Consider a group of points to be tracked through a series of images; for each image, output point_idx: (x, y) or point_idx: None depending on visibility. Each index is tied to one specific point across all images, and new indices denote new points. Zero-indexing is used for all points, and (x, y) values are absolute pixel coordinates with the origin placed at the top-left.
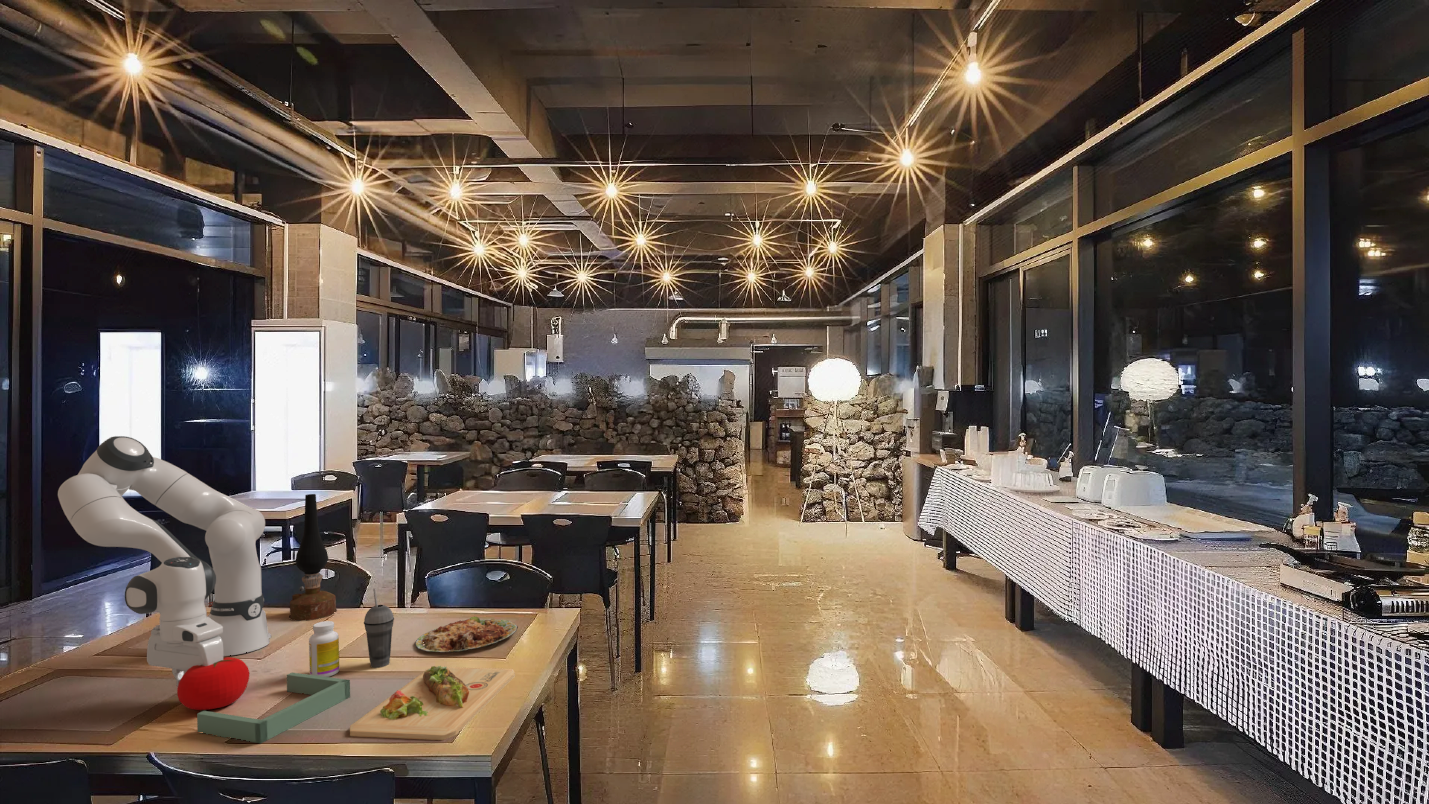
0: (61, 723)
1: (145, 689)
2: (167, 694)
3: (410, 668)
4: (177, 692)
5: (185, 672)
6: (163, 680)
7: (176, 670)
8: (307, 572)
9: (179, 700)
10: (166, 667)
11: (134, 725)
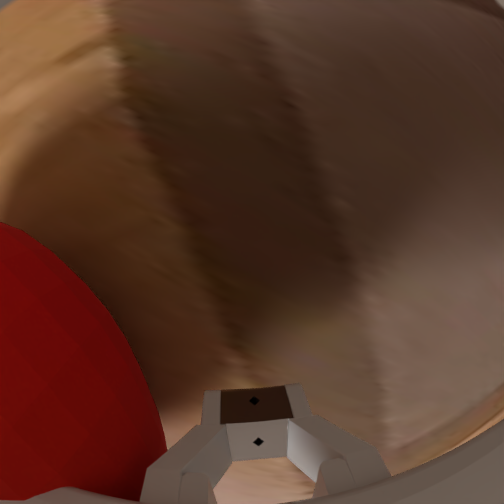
0: (481, 38)
1: (500, 329)
2: (405, 351)
3: None
4: (3, 245)
5: (2, 438)
6: (490, 385)
7: (323, 483)
8: None
9: (13, 227)
10: (444, 455)
11: (170, 45)
